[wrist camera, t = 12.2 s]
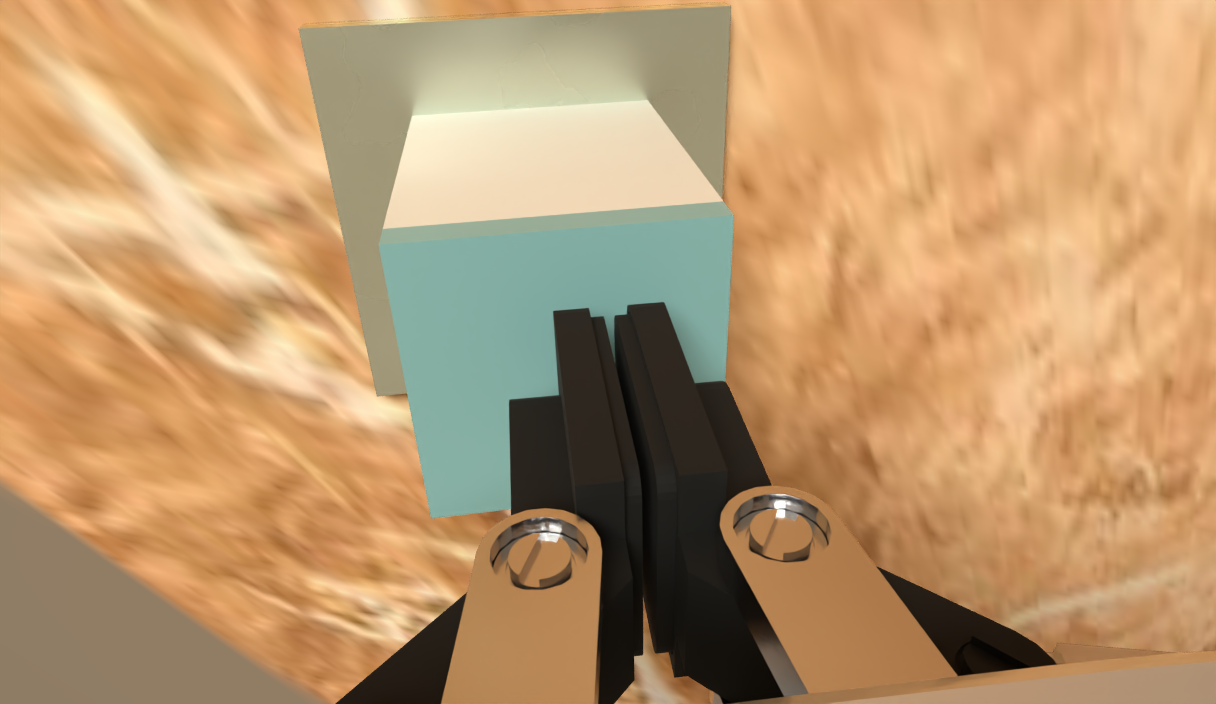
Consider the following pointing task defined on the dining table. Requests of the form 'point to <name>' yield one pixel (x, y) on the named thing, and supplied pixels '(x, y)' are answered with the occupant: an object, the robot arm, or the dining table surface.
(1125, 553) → the dining table surface
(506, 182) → the cream and teal block
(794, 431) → the dining table surface
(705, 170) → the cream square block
